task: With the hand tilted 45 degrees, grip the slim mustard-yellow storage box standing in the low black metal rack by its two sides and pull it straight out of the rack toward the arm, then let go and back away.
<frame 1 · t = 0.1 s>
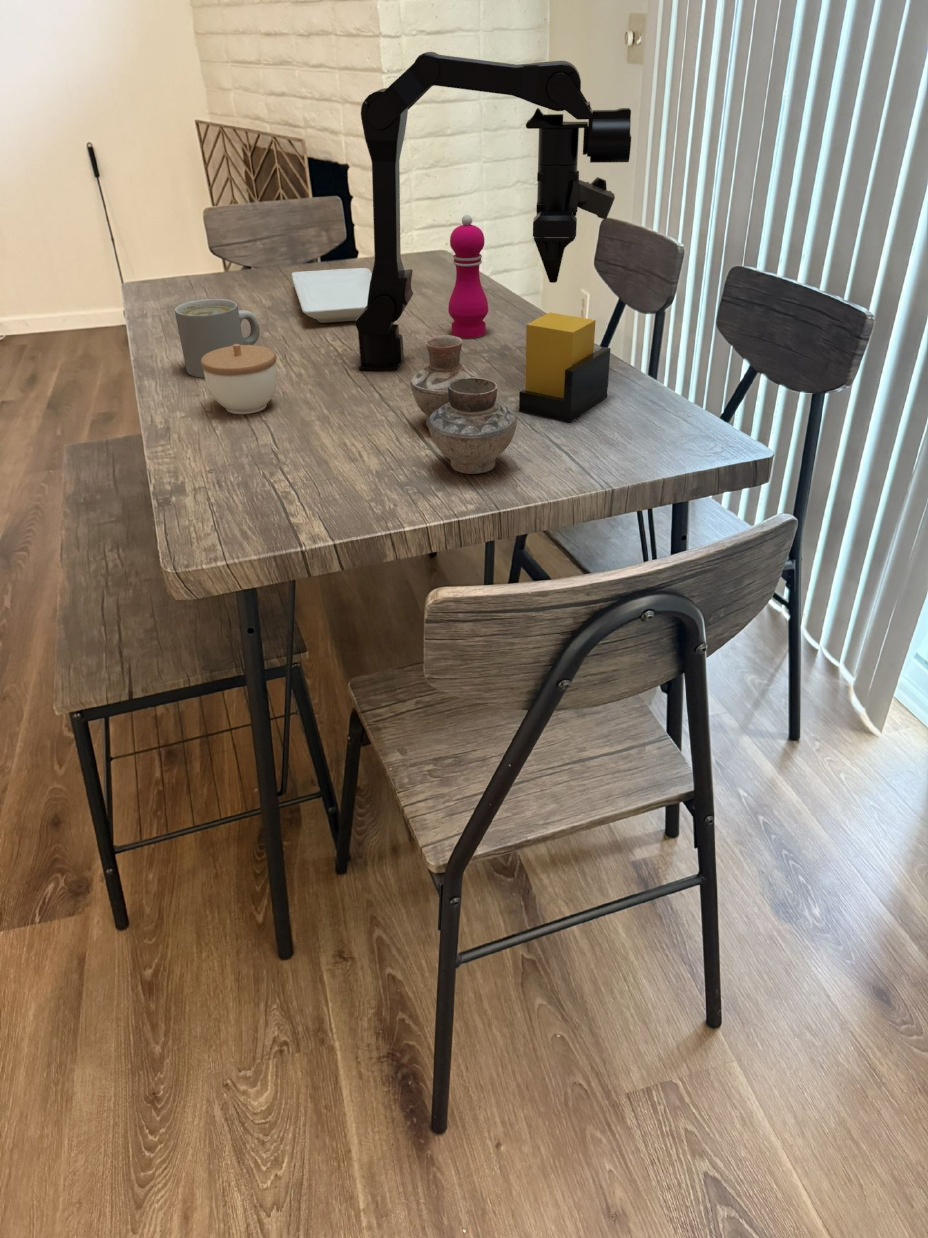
hand: (553, 274, 139), 15 cm above the table, tool pointing down, fingers open, 9 cm apart
coffee mug: (227, 367, 151), on the table
rack: (563, 404, 133), on the table
tray: (340, 305, 181), on the table
storage box: (557, 402, 134), on the table
trinket box: (246, 407, 135), on the table
pepper mill: (468, 334, 163), on the table
pottery: (459, 446, 122), on the table
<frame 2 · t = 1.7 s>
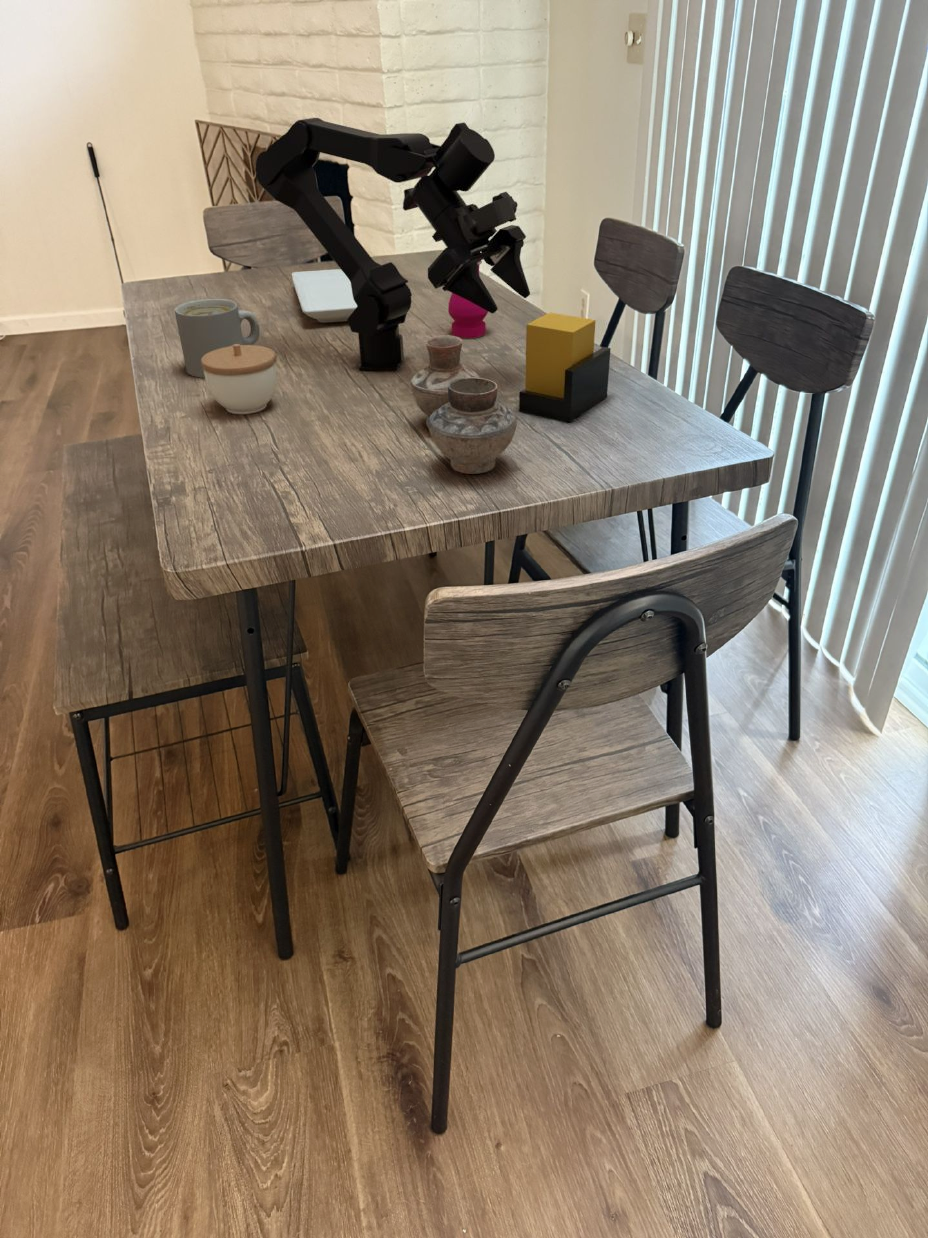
hand: (511, 303, 130), 13 cm above the table, tool tilted 45°, fingers open, 9 cm apart
nothing on the table moved.
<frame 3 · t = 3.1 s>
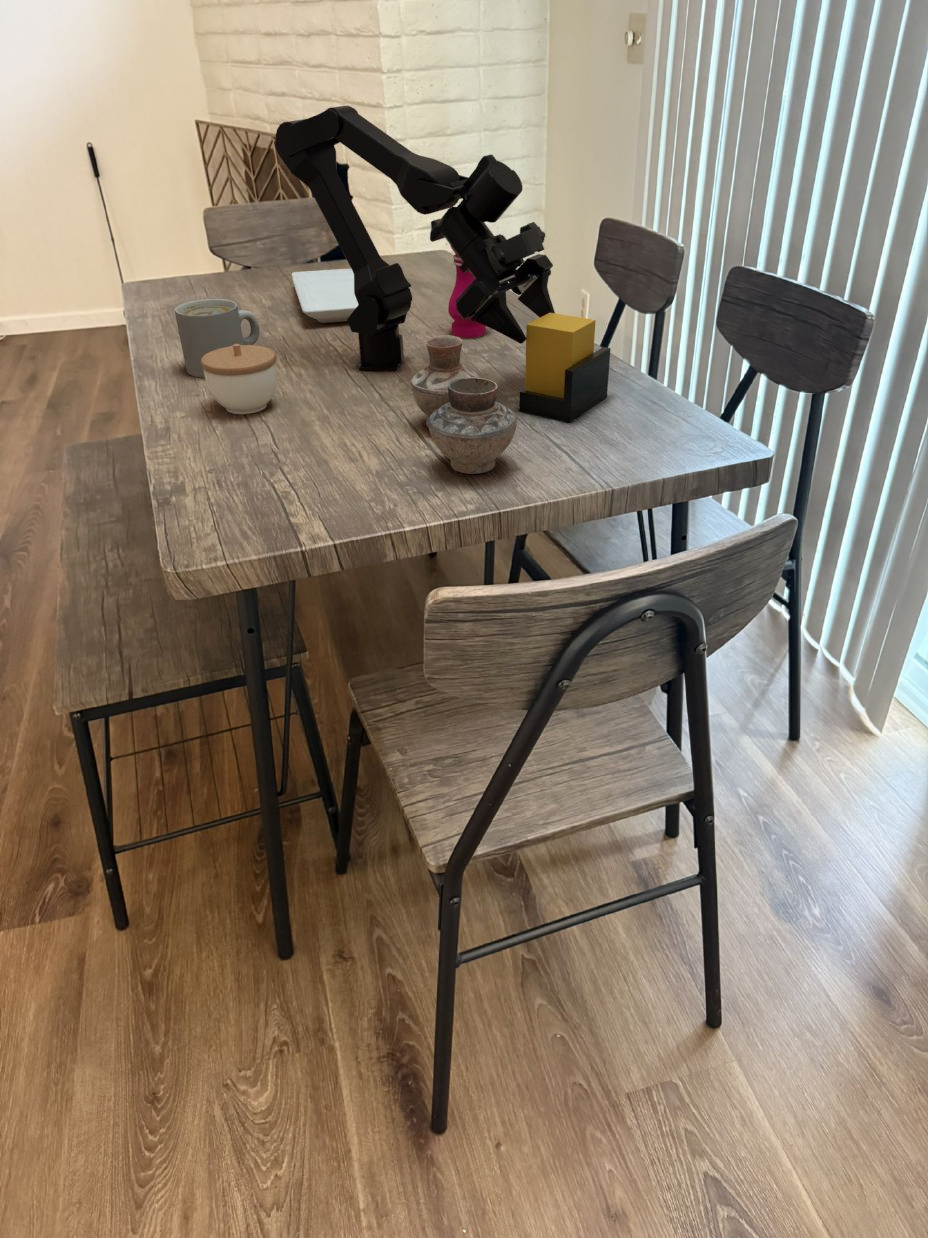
hand: (540, 333, 130), 10 cm above the table, tool tilted 45°, fingers open, 9 cm apart
nothing on the table moved.
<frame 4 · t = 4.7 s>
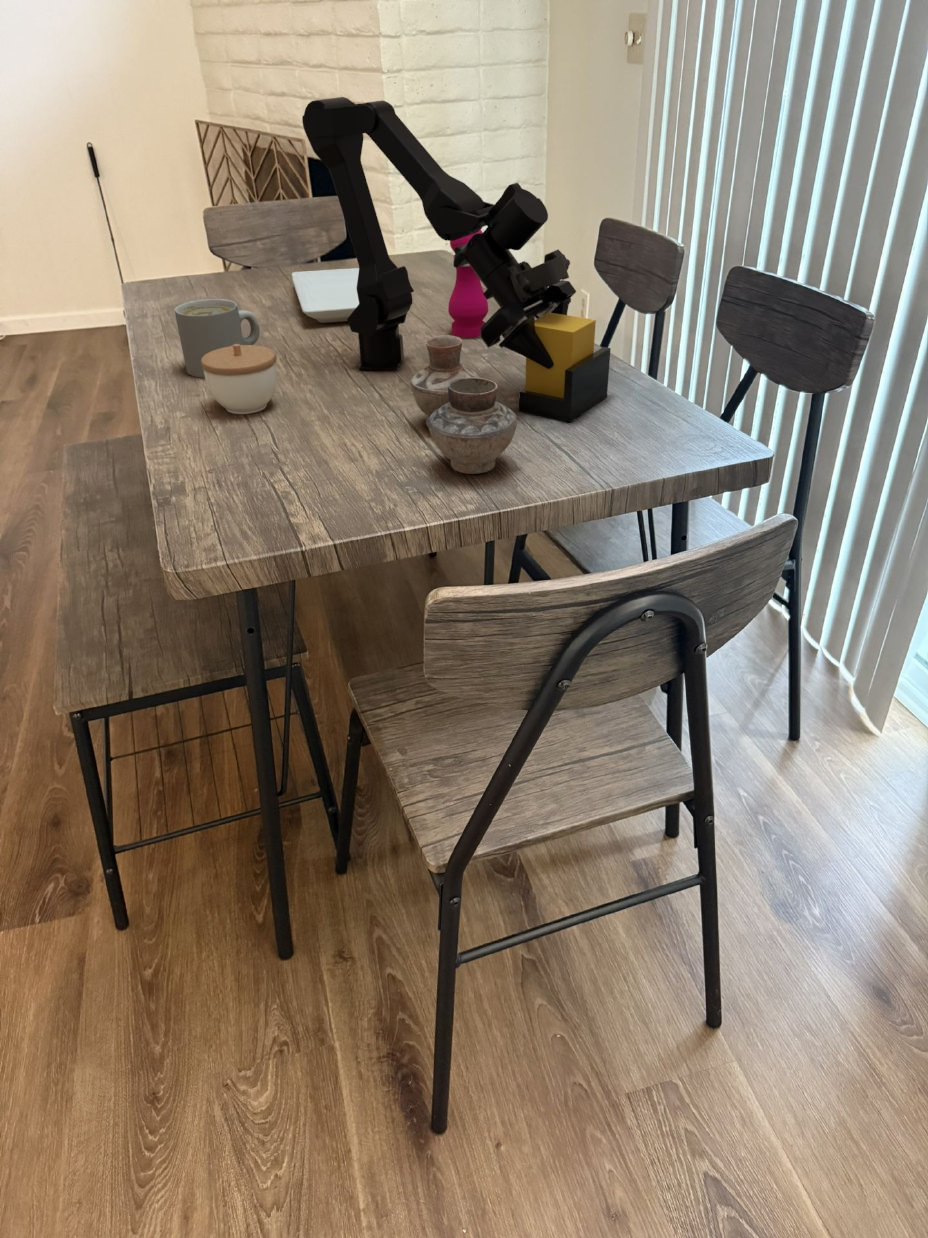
hand: (563, 359, 130), 7 cm above the table, tool tilted 45°, fingers closed on storage box, 7 cm apart
storage box: (557, 402, 134), on the table, touching gripper
everything else where it was.
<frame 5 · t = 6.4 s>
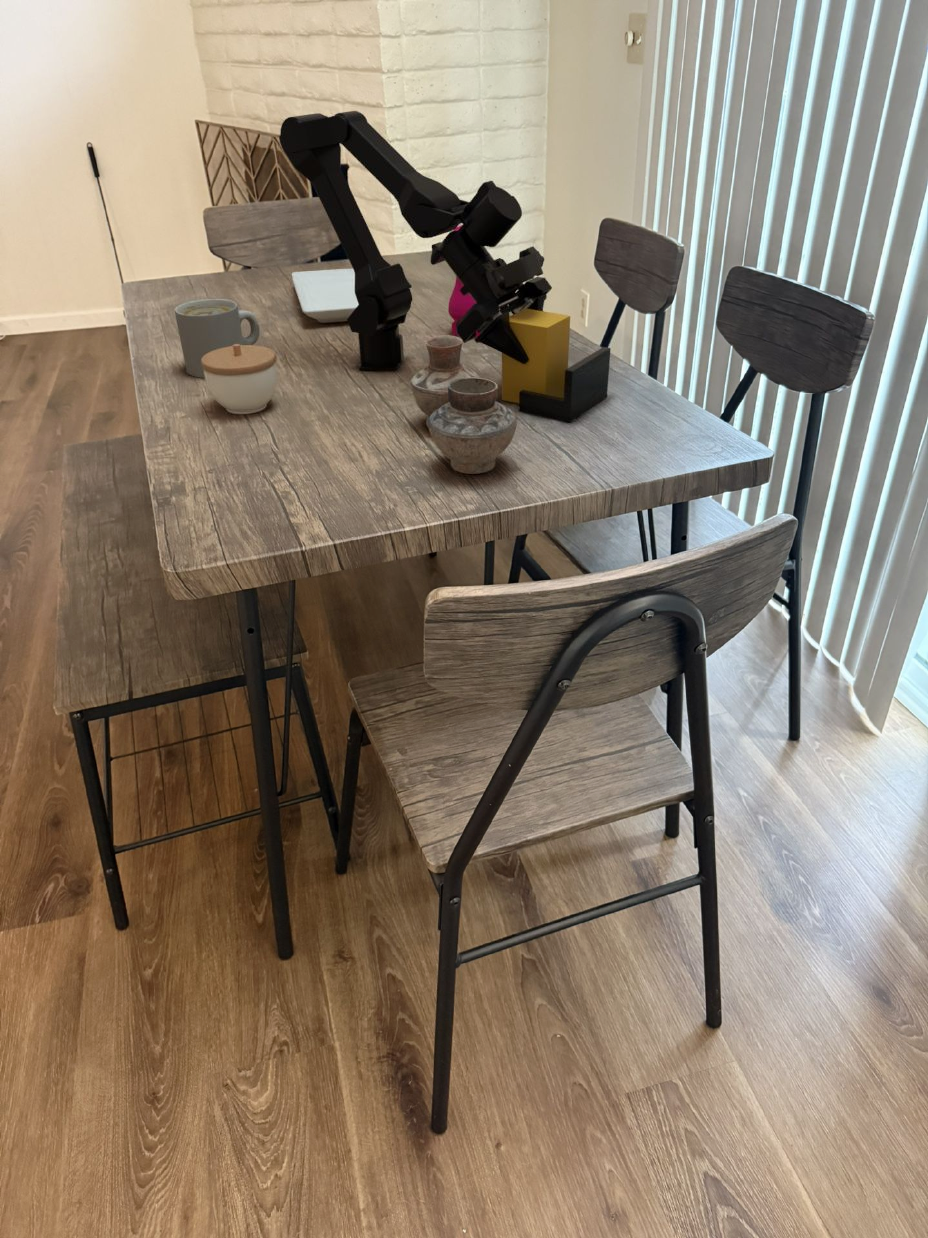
hand: (539, 355, 132), 7 cm above the table, tool tilted 45°, fingers closed on storage box, 7 cm apart
storage box: (534, 397, 136), on the table, touching gripper
everything else where it was.
when the fingers open (7 cm above the table, at t = 8.2 s): storage box stays where it is, on the table.
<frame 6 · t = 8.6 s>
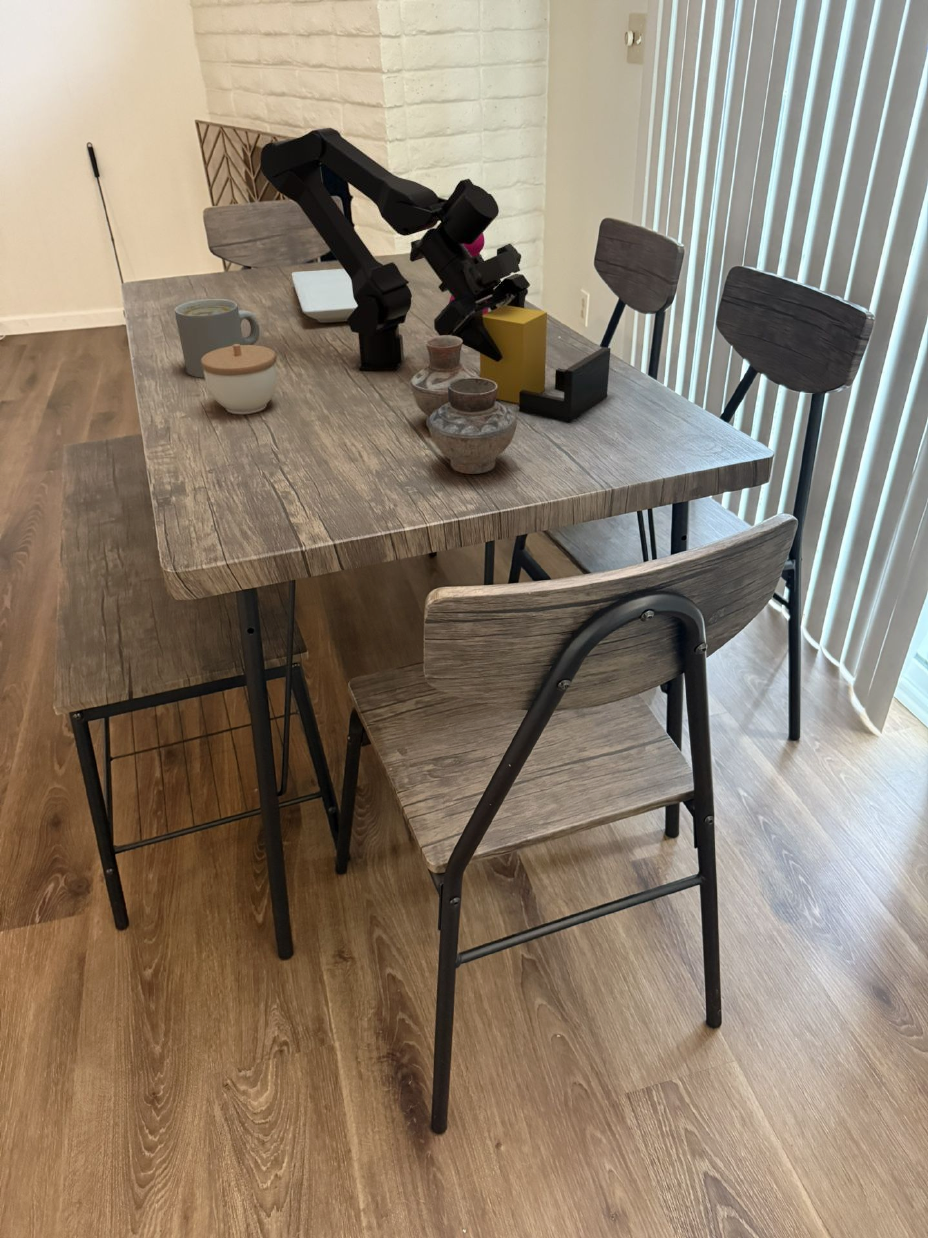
hand: (516, 351, 133), 7 cm above the table, tool tilted 45°, fingers open, 9 cm apart
storage box: (512, 393, 137), on the table
everything else where it was.
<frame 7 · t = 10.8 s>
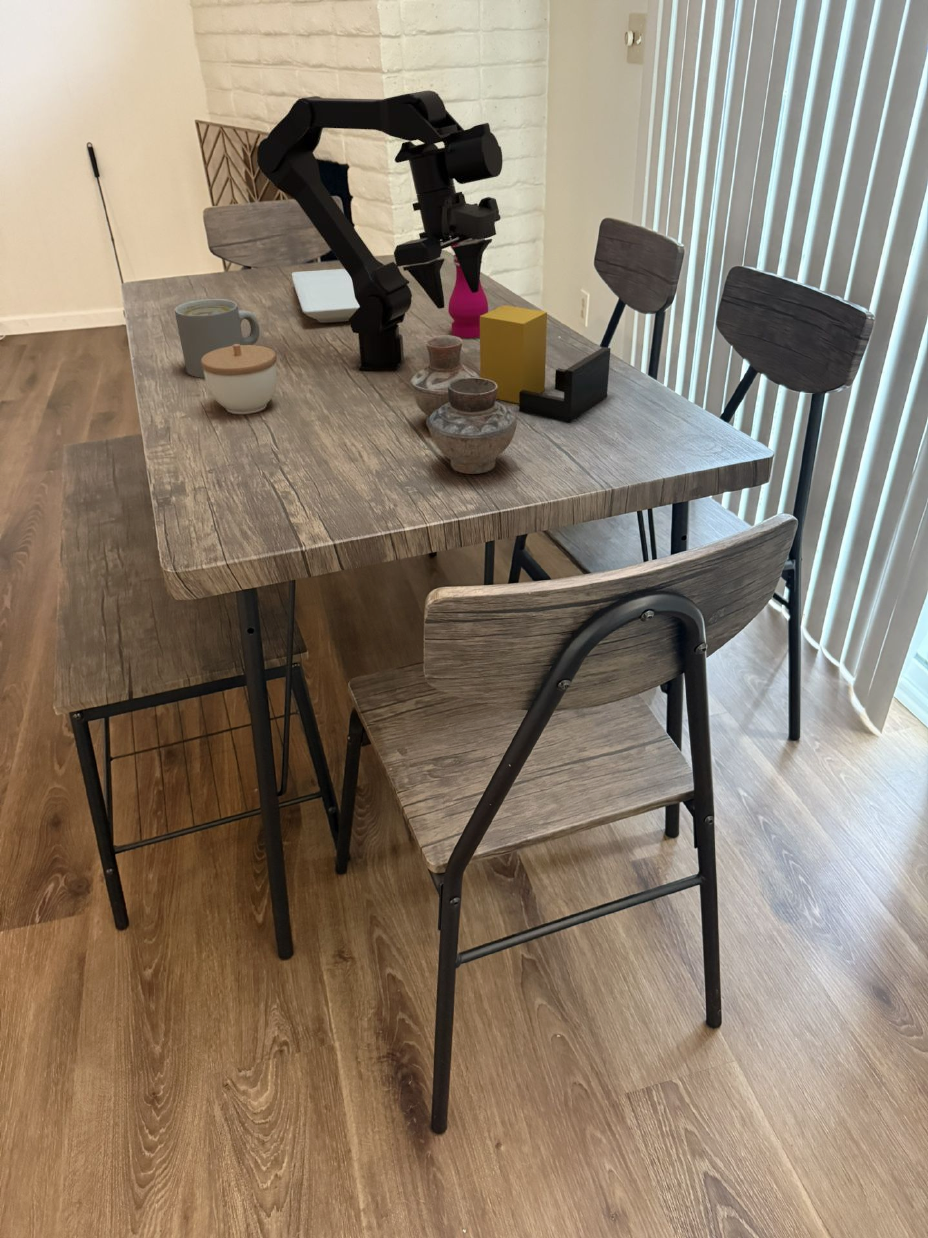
hand: (458, 299, 137), 12 cm above the table, tool pointing down, fingers open, 9 cm apart
nothing on the table moved.
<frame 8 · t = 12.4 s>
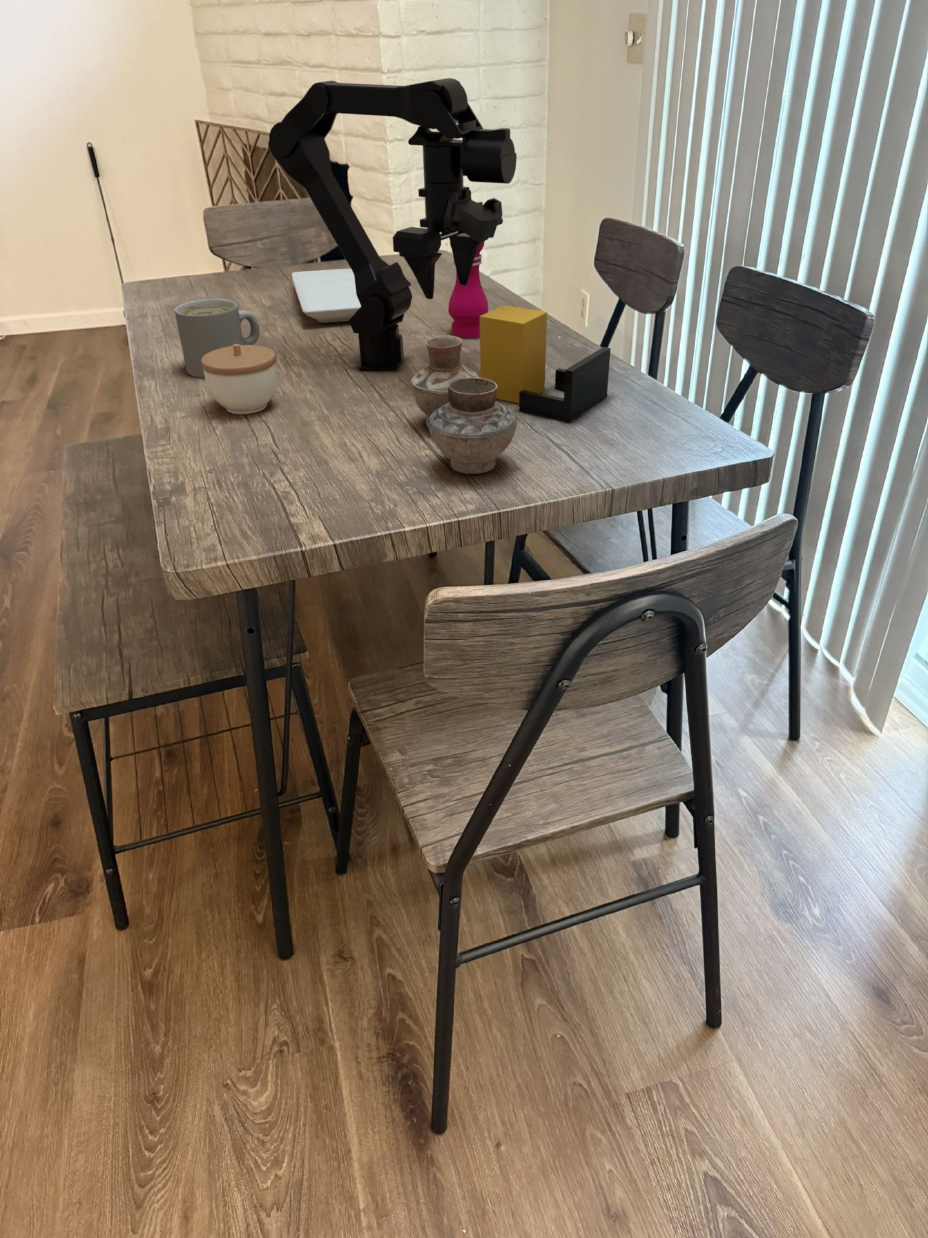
hand: (447, 291, 138), 13 cm above the table, tool pointing down, fingers open, 9 cm apart
nothing on the table moved.
at the end: storage box 0.3 cm from the target spot, on the table; storage box moved 7.9 cm from its start; storage box tilted 0° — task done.
